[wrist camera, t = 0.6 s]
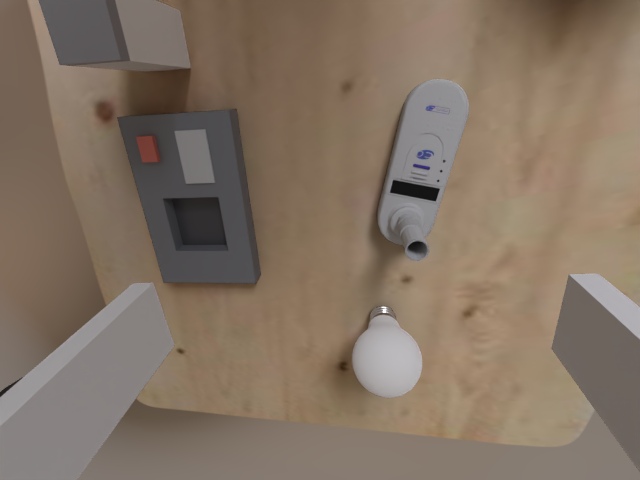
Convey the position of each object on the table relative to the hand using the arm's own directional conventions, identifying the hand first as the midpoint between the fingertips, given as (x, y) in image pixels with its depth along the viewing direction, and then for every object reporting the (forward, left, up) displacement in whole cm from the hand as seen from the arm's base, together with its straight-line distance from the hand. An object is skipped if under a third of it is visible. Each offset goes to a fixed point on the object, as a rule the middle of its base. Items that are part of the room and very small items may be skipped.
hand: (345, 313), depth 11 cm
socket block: (+3, -17, -24) cm, 30 cm away
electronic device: (0, +6, -25) cm, 25 cm away
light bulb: (+17, +3, -24) cm, 30 cm away
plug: (-12, -17, -24) cm, 32 cm away
